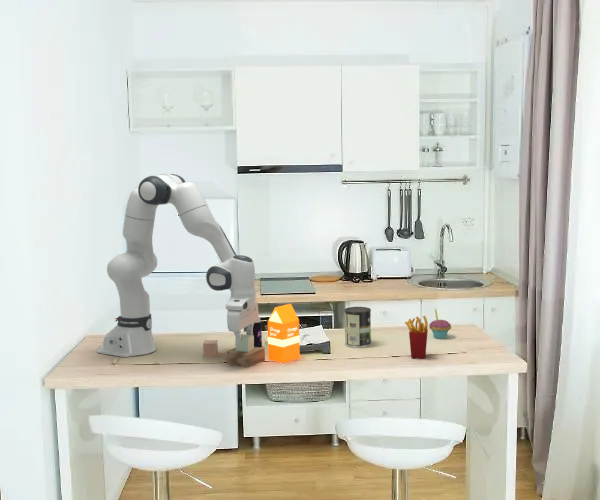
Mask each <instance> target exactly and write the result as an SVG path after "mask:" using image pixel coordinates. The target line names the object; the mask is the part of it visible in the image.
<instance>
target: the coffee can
mask: <svg viewBox="0 0 600 500" xmlns="http://www.w3.org/2000/svg"><path fill="white" fill-rule="evenodd" d="M371 312H372V309H371V308H369V307H367V306H349V307H346V308H344V338H345V339H344V343H345V344H344V345H345V346H346V347H348V348H353V349H354V348H355V349H361V348H368V347H370V346H371V345H372V331H371V330H372V328H371V327H372V325H371V321H372V320H371V318H372V317H371V315H372V314H371Z"/></svg>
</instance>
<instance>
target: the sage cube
mask: <svg viewBox="0 0 600 500" xmlns="http://www.w3.org/2000/svg"><path fill="white" fill-rule="evenodd" d="M240 334H241V333H240ZM241 336H242V341H240V342H236V337H235V348H236V351H241V352H249V351H251V350H253V349H254V335H247V334H246V333H244V334H243V333H242V334H241Z"/></svg>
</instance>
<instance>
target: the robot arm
mask: <svg viewBox="0 0 600 500" xmlns="http://www.w3.org/2000/svg"><path fill="white" fill-rule="evenodd" d="M207 203H208V202H207V201H206V199H205V197H204V195H203V193H202V191H201V190H200V188H199V187H198V185H197V184H195V183H194V182H192V181H186V180H185V179H184V178H183V177H182V176H181V175H179V174H173V173H170V174H169V173H160V174H156V175H149V176H146V177H145V178H143V179H142V180H141V181H140V182H139V184H138V187H135V188H133V189H132V190H131V192H130V195H129V197H128V201H127V204H126V209H125V214H124V221H123V228H122V236H123V238H124V239H125V242H126V252H124V253H121V254H117V255H116V256H114V257H113V258H112V259H111V260H109V262H108V264H107V267H106V273H107V275H108V278H109V279H110V280H111V281H112V282H114V284H115V287H116V289H117V292H118V297H119V309H120V315H119V316H118V317H116V318H114V322H117V323H116V326H114V327H113V328H112V329H110V331H109V332H107V333H106V334H105V336H104V337H103V341H102V342H103V343H102V344H103V345H102V346H100V347H99V348H98V349H97V354H104V355H108V356H109V355H111V356H116V357H122V358H128V357H133V356H141V355H142V356H143V355H148V354H150V353H153V352H155V351H156V350H157V347H156V345H155V344H156V343H155V341H154V337H153V331H152V329H153V328H152V327H153V324H152V323H153V320H152V319H153V318H152V314H151V308H150V307H151V306H150V295H149V293H148V292H147V291H146V289H145V287H144V284H143V281H142V280H143V278H145V277H147V276H149V275H150V274H152V273H153V272H154V271H155V270H156V269H157V267H158V258H157V255H156V253H154V246H153V235H154V227H155V219H156V212H157V209H158V207H159V205H169V204H171V205H173V206H174V208H175V209H176V211H177V214H178V217H179V219H180V222H181V224H182V225H183V227H184V229H185V230H186V231H187V233H189V234H191V235H192V236H195V237H199V238H201V239H203V240H206V241H207V242H209V243H210V244H211V247H212V248H213V250H214V251H215V253H216V254H217V257H218V259H219V260H220V263H218V264H215V265H212V266H210V267H209V268H208V270H207V272H206V275H205V280H206V283H207V285H208V287H209V288H211V289H212V290H214V291H217V292H219V291H220V292H221V291H225V290H230V297H229V299H228V301H227V302H226V304H225V310H227V313H226V322H227V323H226V325H227V329H228V331H229V332H232V333H233V334H234V336H235V337H236V340H235V343H236V342H240V341H242V336H241V332H242V330H243V329H245V328H246V330H245V331H246V333H245V335H251V334H252V329H253V325H254V322H255V321H257V320H258V317H259V316H260V315H259V304H258V302H257V301H256V300H257V299H256V297H257V296H256V294H257V293H256V288H255V283H256V268H255V263H254V261H253V259H252V258H251V257H250V256H246V255H240V254H239V255H237V254H236V252H235V249H234V247H232V244H231V242H230V241H229V239H228V237H227V235H226V233H225V231H224V230H223V228H222V227H221V225H220V224H219V223H218V222H217V221H216V219H215V217H214V215H213V213H212V212H211V210H210V208H209V205H208V204H207ZM259 318H260V317H259Z"/></svg>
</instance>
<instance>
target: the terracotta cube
mask: <svg viewBox="0 0 600 500" xmlns="http://www.w3.org/2000/svg"><path fill="white" fill-rule="evenodd" d="M218 344H219V343H218V339H212V340H211V339H208V340H206V339H205V340H204V341H203V342H202V349H203V350H202V352H203V357H204V356H205V357H206V358H207V357H218V353H219V348H218V347H219V345H218Z"/></svg>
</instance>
